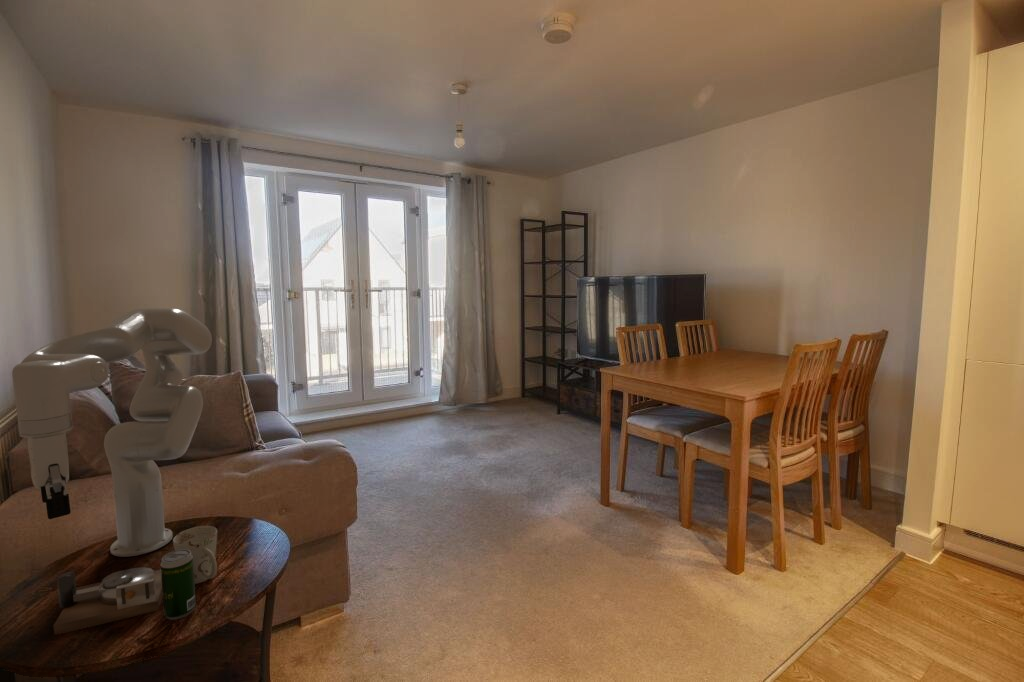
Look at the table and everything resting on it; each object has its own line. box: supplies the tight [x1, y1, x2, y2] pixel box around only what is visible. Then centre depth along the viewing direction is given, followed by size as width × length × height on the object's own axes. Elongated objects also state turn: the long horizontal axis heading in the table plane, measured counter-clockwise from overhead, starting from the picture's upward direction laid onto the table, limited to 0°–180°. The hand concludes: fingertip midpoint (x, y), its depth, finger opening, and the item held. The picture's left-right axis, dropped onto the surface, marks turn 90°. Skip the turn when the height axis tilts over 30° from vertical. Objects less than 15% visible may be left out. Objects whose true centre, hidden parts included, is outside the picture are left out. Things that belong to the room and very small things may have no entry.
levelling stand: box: [53, 569, 163, 636], centre depth 100 cm, size 14×16×6 cm
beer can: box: [160, 549, 197, 621], centre depth 98 cm, size 5×5×12 cm
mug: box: [172, 525, 218, 585], centre depth 109 cm, size 8×13×10 cm, turn 60°
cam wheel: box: [56, 566, 155, 609], centre depth 100 cm, size 15×9×6 cm, turn 117°
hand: (56, 507), depth 97 cm, fingers open, 9 cm apart
